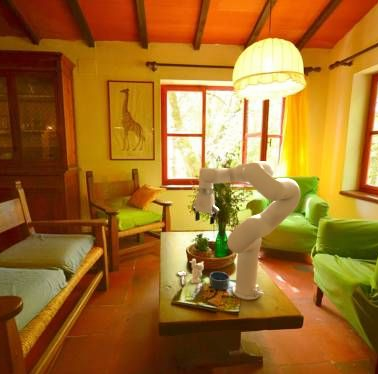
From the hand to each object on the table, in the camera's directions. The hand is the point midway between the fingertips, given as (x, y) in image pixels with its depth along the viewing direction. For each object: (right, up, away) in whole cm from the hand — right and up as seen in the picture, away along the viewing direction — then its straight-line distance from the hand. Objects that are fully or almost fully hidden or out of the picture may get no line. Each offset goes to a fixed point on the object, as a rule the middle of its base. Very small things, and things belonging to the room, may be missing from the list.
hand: (204, 222), depth 137 cm
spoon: (-12, -29, -5) cm, 32 cm away
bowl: (+6, -30, -11) cm, 33 cm away
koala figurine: (-5, -30, -7) cm, 31 cm away
